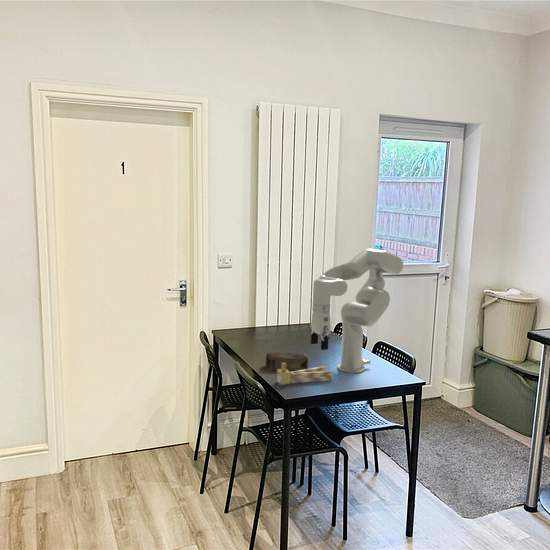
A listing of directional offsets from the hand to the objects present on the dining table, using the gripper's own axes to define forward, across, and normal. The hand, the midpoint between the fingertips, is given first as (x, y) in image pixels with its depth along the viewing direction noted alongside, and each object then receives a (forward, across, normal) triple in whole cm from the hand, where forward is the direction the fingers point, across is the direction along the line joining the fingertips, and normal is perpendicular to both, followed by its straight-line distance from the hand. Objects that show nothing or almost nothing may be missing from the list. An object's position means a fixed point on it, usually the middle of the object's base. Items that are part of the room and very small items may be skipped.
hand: (319, 346), depth 238 cm
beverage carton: (+15, +19, +7) cm, 25 cm away
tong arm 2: (+15, -2, +4) cm, 15 cm away
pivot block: (+15, 0, +16) cm, 22 cm away
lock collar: (+15, 0, +16) cm, 22 cm away
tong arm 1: (+15, +2, +4) cm, 15 cm away
